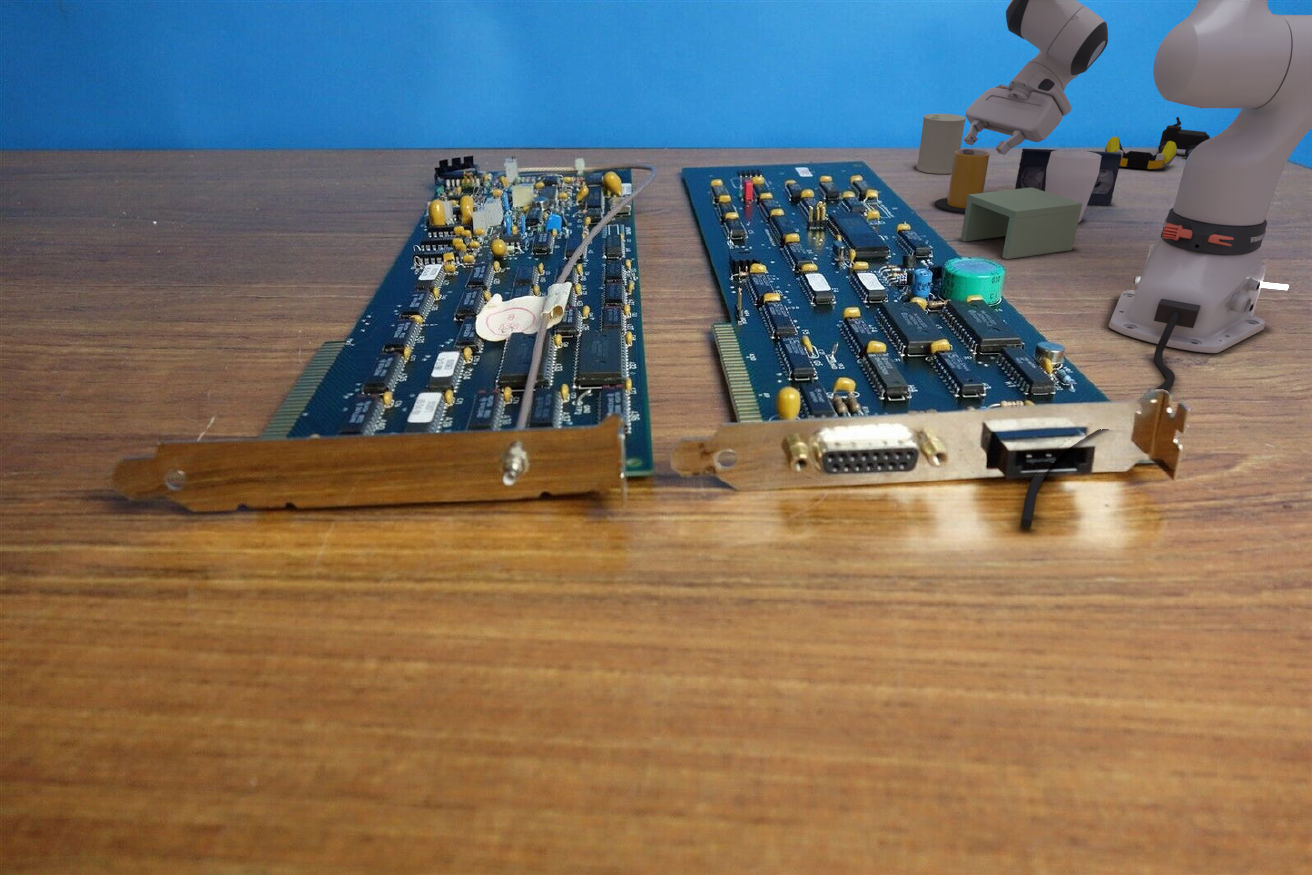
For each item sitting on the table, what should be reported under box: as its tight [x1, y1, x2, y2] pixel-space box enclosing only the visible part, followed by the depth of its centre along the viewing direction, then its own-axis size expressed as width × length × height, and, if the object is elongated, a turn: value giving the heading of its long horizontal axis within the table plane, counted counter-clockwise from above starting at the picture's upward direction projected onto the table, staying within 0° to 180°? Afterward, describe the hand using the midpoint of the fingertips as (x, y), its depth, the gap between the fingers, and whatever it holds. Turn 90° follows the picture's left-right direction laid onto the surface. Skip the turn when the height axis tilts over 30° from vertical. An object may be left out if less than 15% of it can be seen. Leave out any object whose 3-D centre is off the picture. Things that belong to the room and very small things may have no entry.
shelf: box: [960, 187, 1082, 260], centre depth 160 cm, size 14×12×8 cm
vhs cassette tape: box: [1014, 148, 1122, 206], centre depth 186 cm, size 18×3×10 cm, turn 76°
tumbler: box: [946, 148, 991, 208], centre depth 182 cm, size 6×6×10 cm
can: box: [916, 113, 967, 175], centre depth 211 cm, size 9×9×12 cm
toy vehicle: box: [1157, 116, 1211, 159], centre depth 225 cm, size 8×15×9 cm, turn 55°
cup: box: [1045, 149, 1101, 223], centre depth 174 cm, size 9×9×12 cm
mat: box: [934, 197, 966, 215], centre depth 184 cm, size 11×11×1 cm
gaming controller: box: [1104, 136, 1178, 170], centre depth 216 cm, size 15×6×10 cm
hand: (983, 147), depth 180 cm, fingers open, 8 cm apart
